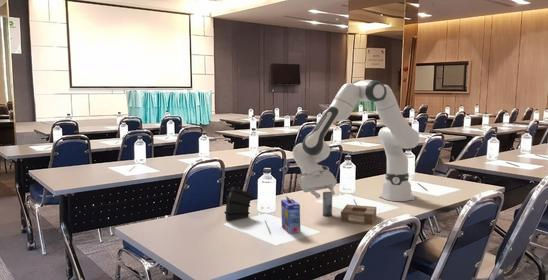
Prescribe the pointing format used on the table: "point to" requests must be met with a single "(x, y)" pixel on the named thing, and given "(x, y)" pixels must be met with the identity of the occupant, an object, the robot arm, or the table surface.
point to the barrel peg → (327, 204)
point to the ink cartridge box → (290, 215)
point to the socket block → (358, 214)
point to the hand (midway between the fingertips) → (326, 196)
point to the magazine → (237, 204)
